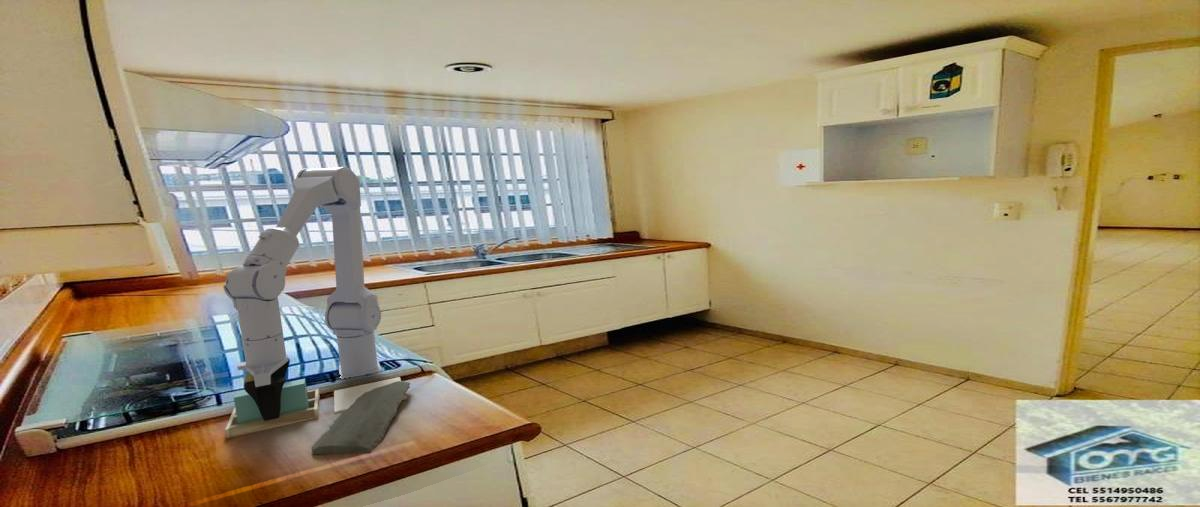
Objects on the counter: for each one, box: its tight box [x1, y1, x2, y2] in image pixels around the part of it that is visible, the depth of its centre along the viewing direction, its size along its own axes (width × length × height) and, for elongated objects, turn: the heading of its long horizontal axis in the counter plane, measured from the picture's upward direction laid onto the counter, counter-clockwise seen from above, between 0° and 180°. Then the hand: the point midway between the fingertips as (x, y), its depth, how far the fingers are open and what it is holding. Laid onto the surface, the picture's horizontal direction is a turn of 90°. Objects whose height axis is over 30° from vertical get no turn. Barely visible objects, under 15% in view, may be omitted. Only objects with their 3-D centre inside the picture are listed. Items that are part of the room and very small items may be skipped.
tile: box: [333, 376, 407, 414], centre depth 93 cm, size 10×12×1 cm
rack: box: [224, 388, 321, 440], centre depth 86 cm, size 10×13×2 cm
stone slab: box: [311, 380, 411, 455], centre depth 83 cm, size 22×3×10 cm
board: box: [233, 378, 309, 424], centre depth 83 cm, size 2×10×6 cm, turn 119°
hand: (274, 410), depth 84 cm, fingers open, 6 cm apart
